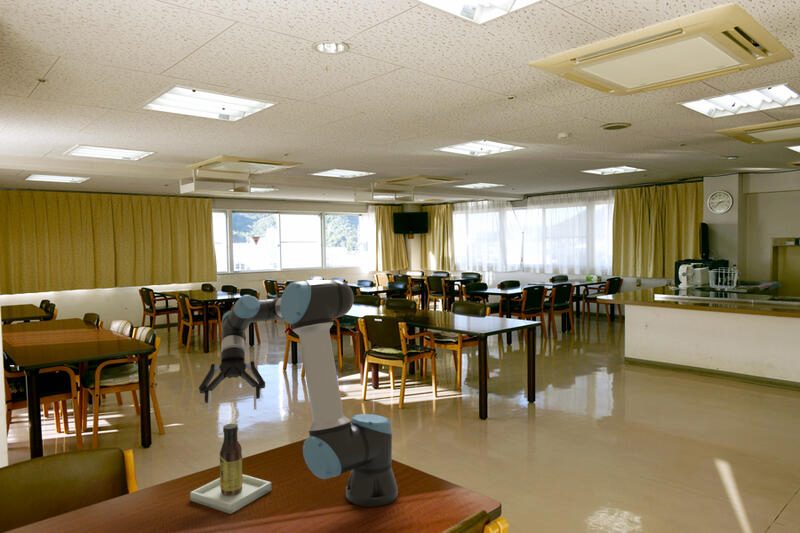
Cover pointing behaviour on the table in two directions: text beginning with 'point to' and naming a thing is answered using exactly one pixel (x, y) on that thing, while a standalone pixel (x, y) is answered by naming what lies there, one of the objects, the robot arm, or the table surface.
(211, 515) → the table surface
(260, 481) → the tray
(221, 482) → the sauce bottle
